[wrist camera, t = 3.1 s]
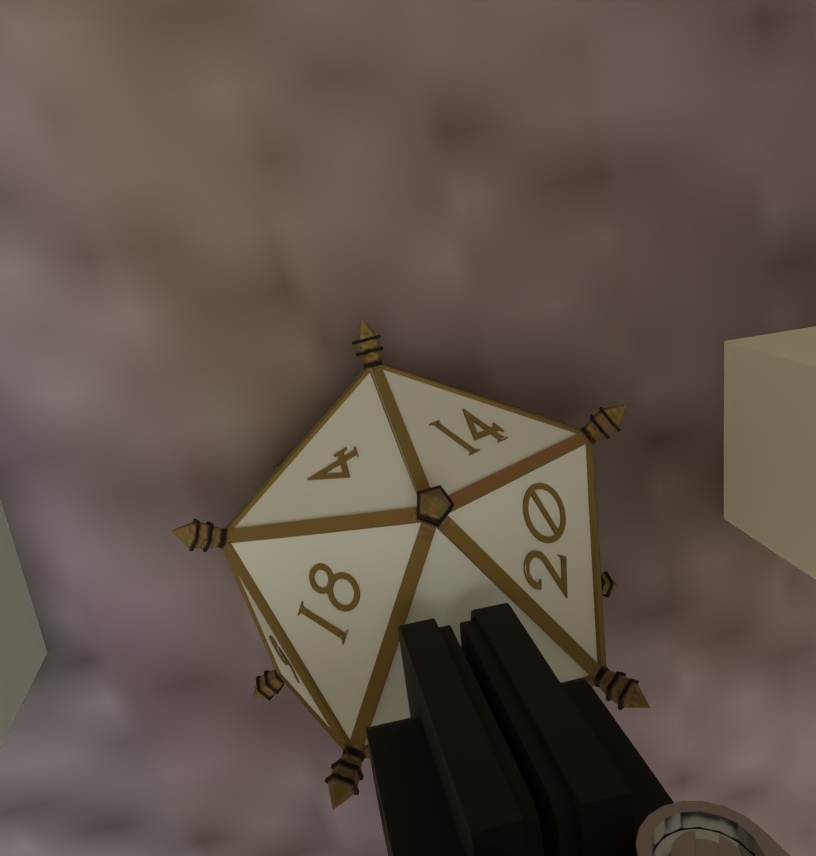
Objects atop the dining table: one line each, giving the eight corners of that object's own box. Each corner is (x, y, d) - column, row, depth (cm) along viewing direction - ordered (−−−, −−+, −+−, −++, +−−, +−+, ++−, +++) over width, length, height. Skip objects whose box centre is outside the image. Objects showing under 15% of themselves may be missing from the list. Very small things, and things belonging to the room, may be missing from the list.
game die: (332, 398, 22) (279, 164, 12) (619, 495, 21) (795, 320, 12) (199, 710, 19) (-1, 709, 10) (526, 839, 18) (661, 982, 9)
